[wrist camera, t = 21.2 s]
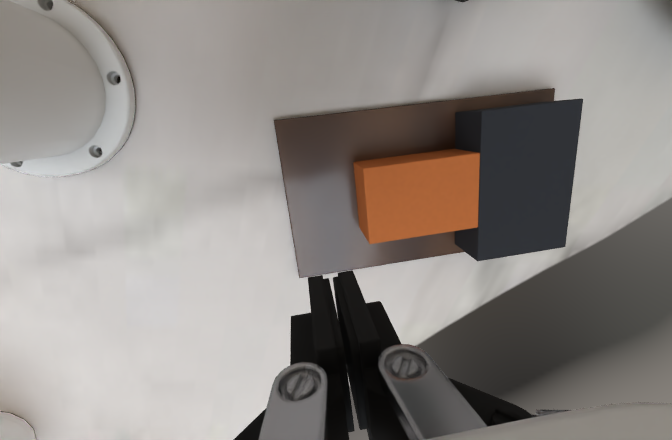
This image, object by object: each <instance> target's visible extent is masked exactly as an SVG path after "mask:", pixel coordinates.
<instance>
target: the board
mask: <svg viewBox="0 0 672 440" xmlns="http://www.w3.org/2000/svg"><path fill="white" fill-rule="evenodd" d="M554 93H555V89H554V88H552V89H544V90H535V91H526V92H517V93H509V94H500V95H491V96H483V97H474V98H465V99H456V100H448V101H439V102H430V103H421V104H413V105H404V106H395V107H386V108H378V109H369V110H360V111H352V112H343V113H334V114H325V115H317V116H308V117H299V118H290V119H282V120H274V124H275V130H276V136H277V143H278V149H279V155H280V161H281V167H282V173H283V180H284V186H285V192H286V198H287V204H288V210H289V216H290V223H291V229H292V235H293V241H294V247H295V253H296V260H297V266H298V272H299V277H300V278H303V277H309V276H315V275H322V274H328V273H334V272H341V271H347V270H353V269H359V268H366V267H372V266H378V265H384V264H391V263H397V262H403V261H409V260H416V259H422V258H428V257H435V256H441V255H447V254H453V253H460V252H465V251H463V250H462V249H461V248H459V247H458V246H457V245H455V231H452V232H445V233H439V234H432V235H426V236H419V237H413V238H407V239H400V240H394V241H387V242H381V243H375V244H369V242H368V241H367V239H366V237H365V236H364V234H363V233H362V231H361V229H360V228H359V217H358V207H357V196H356V186H355V175H354V165H353V163H354V162H357V161H364V160H372V159H380V158H387V157H395V156H402V155H410V154H417V153H425V152H433V151H440V150H448V149H455V113H456V112H462V111H470V110H479V109H487V108H496V107H504V106H513V105H521V104H530V103H538V102H548V101H554Z"/></svg>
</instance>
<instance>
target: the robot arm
mask: <svg viewBox="0 0 672 440" xmlns="http://www.w3.org/2000/svg"><path fill="white" fill-rule="evenodd" d="M52 5H53V8H52ZM118 76H120V80H121V81H120V83H118V81H117V77H118ZM134 114H135V92H134V87H133V83H132V79H131V75H130V72H129V70H128V67H127V65H126V63H125V60H124V58H123V56H122V54H121V53H120V51H119V50H118V48H117V46H116V45H115V43H114V42H113V40H112V39H111V38H110V36H109V35H108V34H107V33H106V32H105V31H104V30H103V28H102V27H101V26H100V25H99V24H98V23H97V22H96V21H95V20H94V19H92V18H91V17H90V16H89V15H88V14H86V13H85V12H84V11H83V10H82V9H80V8H79V7H77V6H75V5H74V4H72V3H70V2H69V1H67V0H0V165H2V166H4V167H6V168H8V169H11V170H14V171H18V172H21V173H24V174H28V175H34V176H41V177H66V176H71V175H76V174H80V173H84V172H87V171H90V170H93V169H95V168H97V167H99V166H101V165H102V164H104V163H106V162H108V161H109V160H110V159H111V158H112V157H113V156H114V155H115V154H116V153H118V152H119V150H120V149H121V147H122V146H123V145H124V143H125V142H126V140H127V138H128V136H129V133H130V131H131V128H132V126H133V121H134ZM99 149H101V150H102V153H100V151H99ZM333 282H334V290H335V298H336V306H337V313H336V309H335V304H334V300H333V295H332V291H331V287H330V282H329V278H327V279H323V276H322V275H321V276H315V277H309V278H308V284H309V294H310V305H311V313H307V314H301V315H295V316H291V362H290V366H288V367H287V368H285V369H284V370H282V371H281V372H280V373H279V374H278V376H277V377H276V378H275V380H274V383H273V385H272V389H271V393H270V397H269V401H268V405H267V408H266V409H265V410H264V411H263V412H262V413H261V414H260V415H259V416H258V417H257V418H256V419H255V420H254V421H253V422H251V423H250V424H249V425H248V426H247V427H246V428H245V429H244V430H243V431H242V432H241V433H240V434H239V435H238V436H237V437H236V438H235V439H234V440H349V435H348V432H352V431H354V424H353V415H352V407H351V399H350V391H349V382H350V386H351V391H352V395H353V400H354V405H355V409H356V413H357V419H358V423H359V428H360V430H362V429H367V432H368V436H369V440H672V404H671V403H649V402H636V403H620V404H609V405H603V406H597V407H590V408H582V409H576V410H536V415H531V414H530V413H528V412H527V411H526V410H524V409H522V408H520V407H518V406H516V405H514V404H511V403H509V402H507V401H504V400H502V399H499V398H497V397H494V396H492V395H489V394H487V393H484V392H482V391H480V390H477V389H475V388H472V387H470V386H467V385H465V384H462V383H460V382H457V381H455V380H453V379H450V378H448V377H446V375H445V374H444V373H443V372H442V370H441V369H440V368H439V367H438V365H437V364H436V363H435V362H434V361H433V359H432V358H431V357H430V356H429V355H428V354H427V353H426V352H425V351H424V350H422V349H420V348H418V347H416V346H413V345H408V344H401V342H400V340H399V338H398V336H397V334H396V332H395V330H394V328H393V326H392V324H391V322H390V320H389V318H388V316H387V313H386V311H385V309H384V307H383V305H382V303H381V302H380V301H378V302H372V303H365V300H364V298H363V295H362V293H361V290H360V288H359V285H358V283H357V280H356V278H355V275H354V273H353V271H346V272H340V273H338V277H333ZM337 314H338V317H337ZM347 373H348V374H347ZM348 377H349V382H348Z"/></svg>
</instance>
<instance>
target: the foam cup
mask: <svg viewBox="0 0 672 440" xmlns="http://www.w3.org/2000/svg"><path fill="white" fill-rule="evenodd" d="M0 440H36V438H35V433H34V429H33V428H32V427H31V426H30V425H29V424H28V423H27V422H26V421H25V420H24V419H22V418H20V417H17V416H15V415H13V414H11V413H6V412H0Z"/></svg>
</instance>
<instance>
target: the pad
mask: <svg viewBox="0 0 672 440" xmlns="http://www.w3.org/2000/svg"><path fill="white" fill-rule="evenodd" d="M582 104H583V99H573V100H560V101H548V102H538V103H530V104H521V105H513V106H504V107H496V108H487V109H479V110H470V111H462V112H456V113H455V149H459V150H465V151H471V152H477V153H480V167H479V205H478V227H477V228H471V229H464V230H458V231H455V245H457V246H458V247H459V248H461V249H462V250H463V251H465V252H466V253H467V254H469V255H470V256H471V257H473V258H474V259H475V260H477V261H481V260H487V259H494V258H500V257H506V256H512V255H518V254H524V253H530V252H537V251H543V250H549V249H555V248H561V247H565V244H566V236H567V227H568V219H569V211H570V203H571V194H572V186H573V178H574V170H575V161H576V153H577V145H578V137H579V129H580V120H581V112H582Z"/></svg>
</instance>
